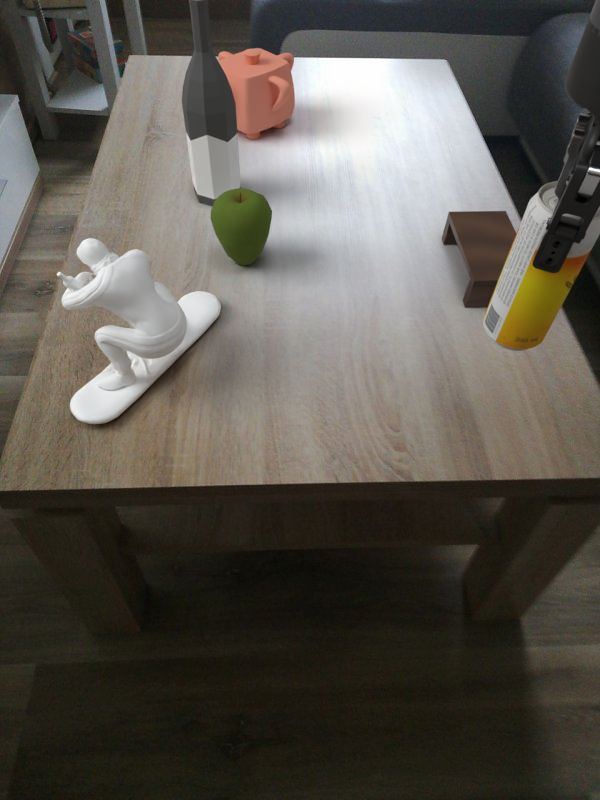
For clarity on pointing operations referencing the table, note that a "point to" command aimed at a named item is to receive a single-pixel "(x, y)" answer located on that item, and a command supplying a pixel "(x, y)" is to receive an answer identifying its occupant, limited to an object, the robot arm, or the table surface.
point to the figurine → (145, 311)
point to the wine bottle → (209, 115)
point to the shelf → (480, 249)
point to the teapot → (260, 88)
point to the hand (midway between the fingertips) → (551, 244)
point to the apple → (241, 223)
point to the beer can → (533, 279)
